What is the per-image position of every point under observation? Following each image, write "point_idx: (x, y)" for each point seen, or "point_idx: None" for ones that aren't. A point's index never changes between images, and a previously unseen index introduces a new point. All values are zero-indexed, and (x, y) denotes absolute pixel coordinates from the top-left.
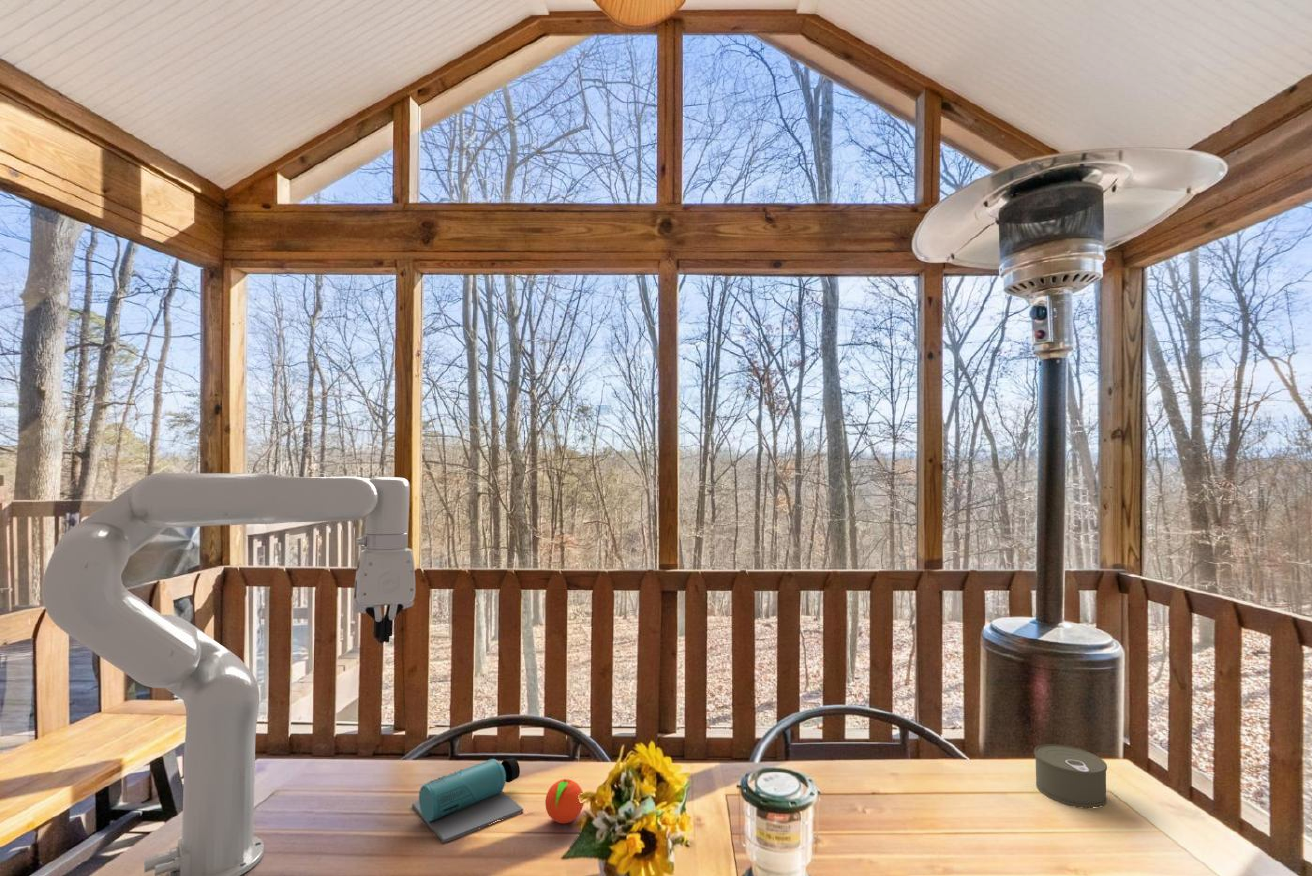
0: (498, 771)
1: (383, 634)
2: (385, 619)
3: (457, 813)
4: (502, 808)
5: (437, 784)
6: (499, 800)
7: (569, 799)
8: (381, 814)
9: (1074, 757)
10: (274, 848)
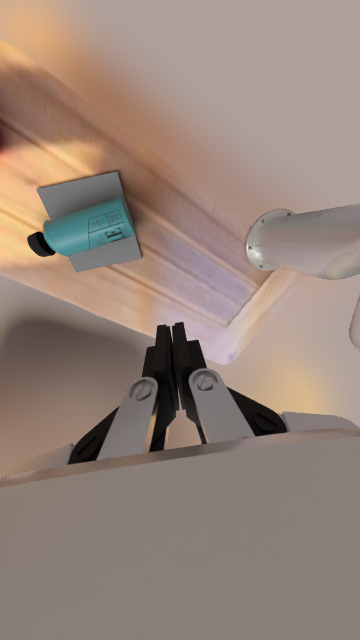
0: (48, 223)
1: (176, 335)
2: (169, 392)
3: None
4: (59, 202)
5: (113, 210)
6: None
7: None
8: (165, 257)
9: None
10: (238, 245)
